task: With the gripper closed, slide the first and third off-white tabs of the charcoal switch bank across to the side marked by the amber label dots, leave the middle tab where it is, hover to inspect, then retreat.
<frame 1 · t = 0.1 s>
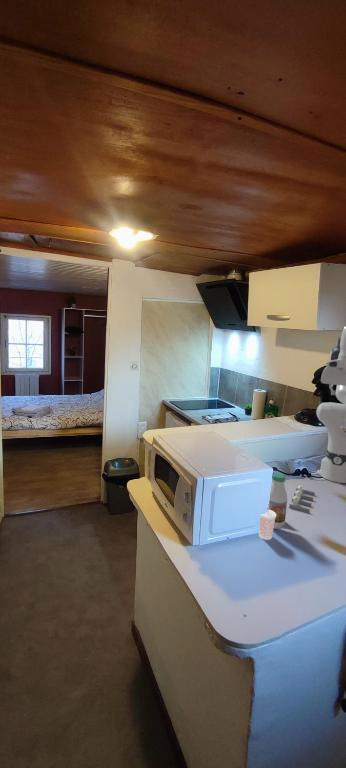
hand: (344, 396, 153), 48 cm above the countertop, fingers open, 8 cm apart
tab 3: (295, 501, 153), point 3 cm above the countertop, slide at -2.0 cm
beverage cup: (265, 536, 132), on the countertop
switch bank: (302, 503, 158), on the countertop
tab 2: (298, 495, 158), point 3 cm above the countertop, slide at -2.0 cm
milk bottle: (273, 524, 140), on the countertop
tab 1: (300, 490, 164), point 3 cm above the countertop, slide at -2.0 cm
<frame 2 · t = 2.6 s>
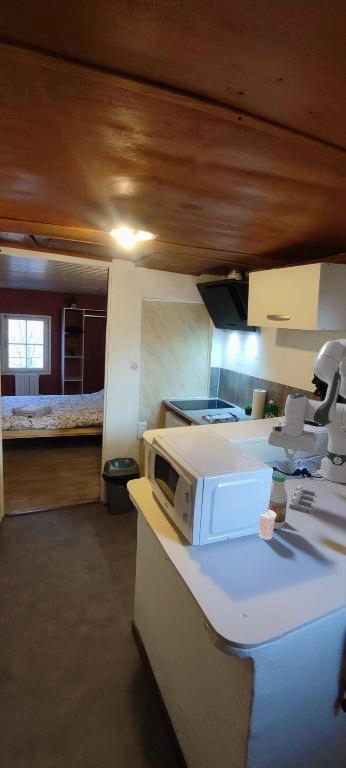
hand: (289, 458, 164), 17 cm above the countertop, fingers closed
nothing on the countertop moved.
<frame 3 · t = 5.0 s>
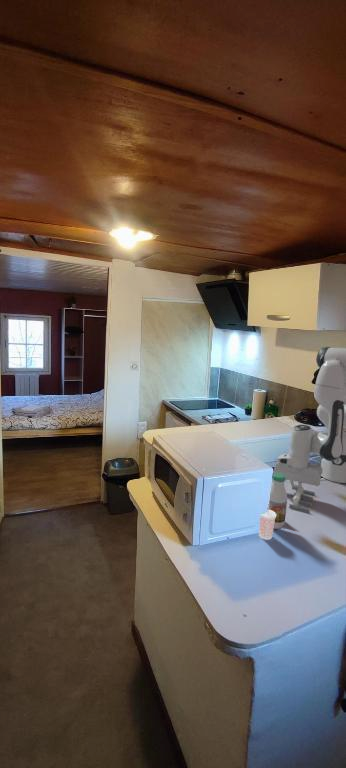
hand: (295, 489, 165), 3 cm above the countertop, fingers closed
tab 1: (300, 490, 163), point 3 cm above the countertop, slide at -1.7 cm, touching gripper
everything else where it was.
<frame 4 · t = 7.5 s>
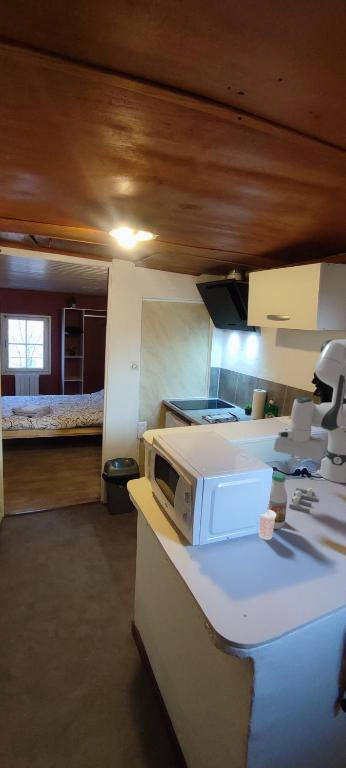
hand: (296, 465, 158), 16 cm above the countertop, fingers closed
tab 1: (309, 492, 162), point 3 cm above the countertop, slide at 2.1 cm
everything else where it was.
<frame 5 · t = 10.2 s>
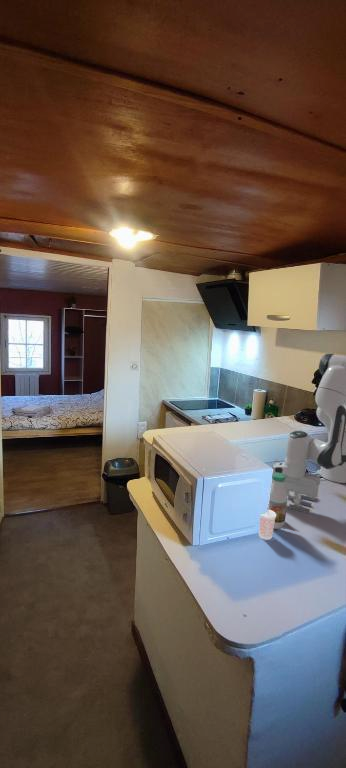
hand: (291, 500, 154), 3 cm above the countertop, fingers closed
tab 3: (297, 501, 153), point 3 cm above the countertop, slide at -1.4 cm, touching gripper
everything else where it was.
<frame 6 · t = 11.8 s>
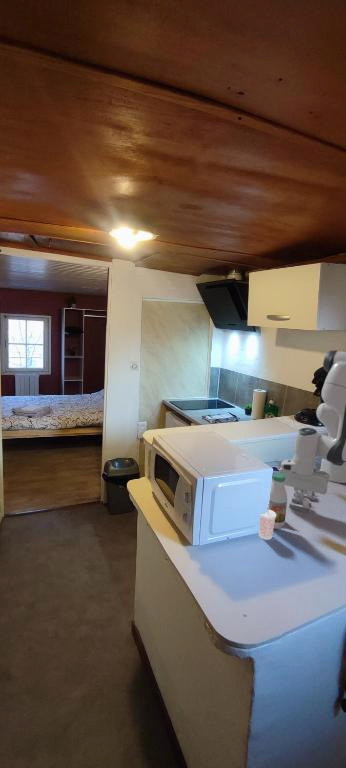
hand: (299, 497, 153), 5 cm above the countertop, fingers closed
tab 3: (305, 503, 151), point 3 cm above the countertop, slide at 2.1 cm
everything else where it was.
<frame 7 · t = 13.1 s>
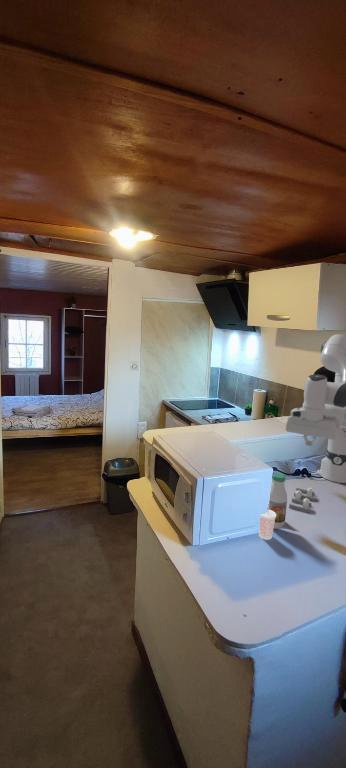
hand: (309, 445, 154), 27 cm above the countertop, fingers closed
nothing on the countertop moved.
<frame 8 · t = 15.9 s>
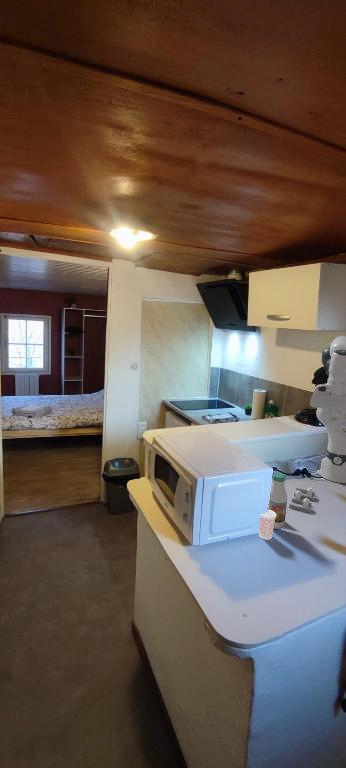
hand: (333, 420, 155), 37 cm above the countertop, fingers closed
nothing on the countertop moved.
at the end: tab 1 slide at 2.1 cm; tab 3 slide at 2.1 cm; tab 2 slide at -2.0 cm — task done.
